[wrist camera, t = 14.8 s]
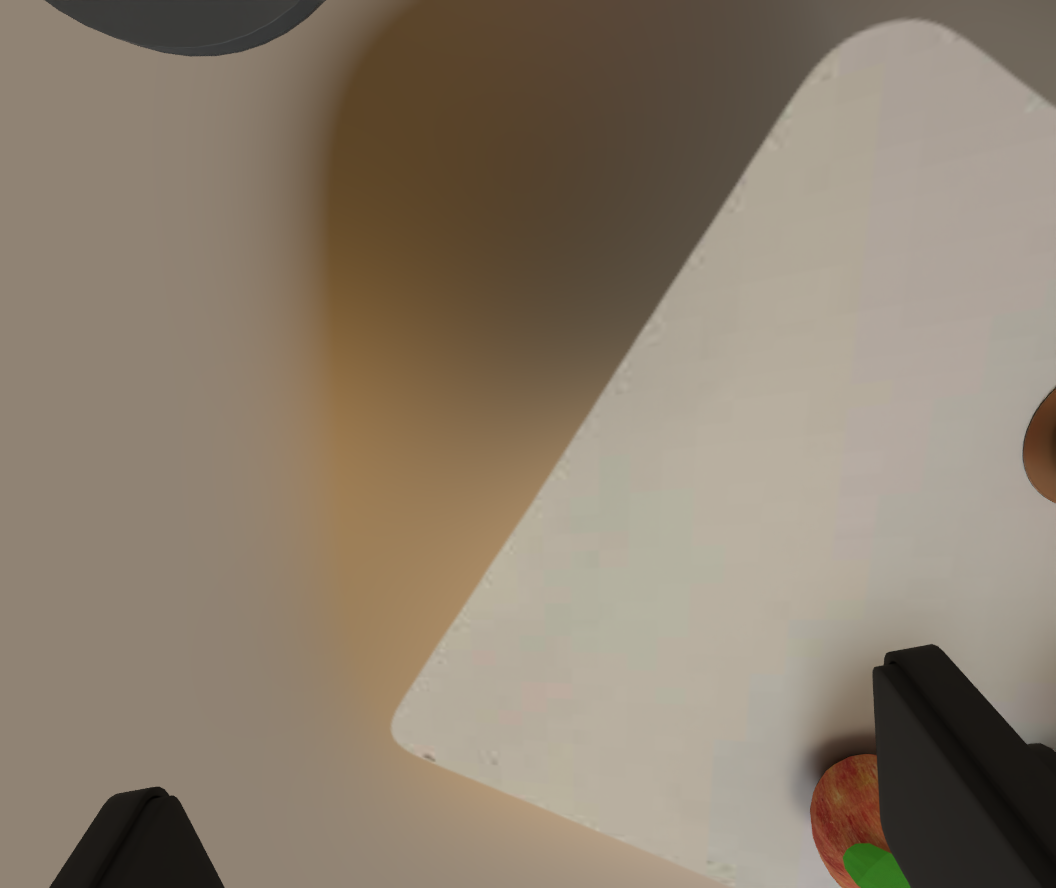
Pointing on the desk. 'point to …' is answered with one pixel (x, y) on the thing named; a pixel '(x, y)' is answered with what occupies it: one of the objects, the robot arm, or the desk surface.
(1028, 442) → the coaster
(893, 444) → the desk surface
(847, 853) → the fruit
